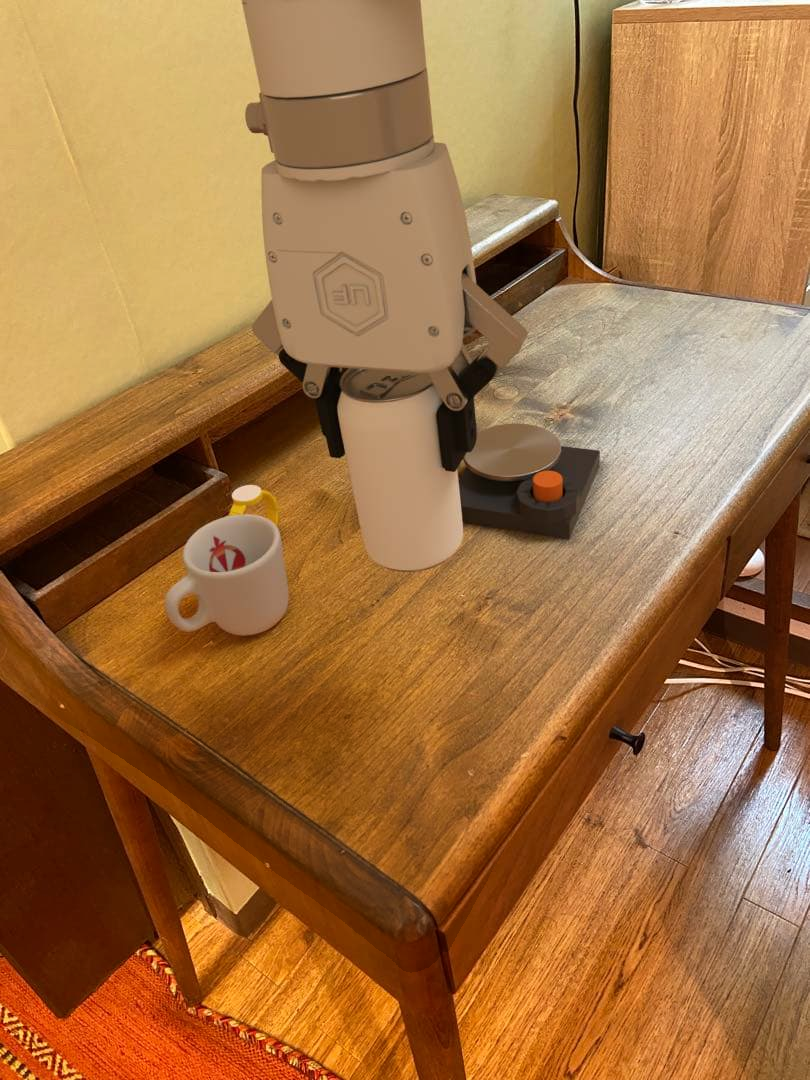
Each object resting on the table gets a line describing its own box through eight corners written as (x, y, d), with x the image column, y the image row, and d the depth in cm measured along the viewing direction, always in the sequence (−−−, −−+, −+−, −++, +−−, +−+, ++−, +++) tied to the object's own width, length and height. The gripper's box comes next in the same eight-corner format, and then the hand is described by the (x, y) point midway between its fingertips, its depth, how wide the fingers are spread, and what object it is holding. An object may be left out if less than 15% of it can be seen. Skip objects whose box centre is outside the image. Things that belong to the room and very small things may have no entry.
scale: (602, 466, 82) (603, 436, 80) (570, 544, 73) (570, 513, 71) (485, 452, 87) (483, 423, 84) (442, 524, 78) (438, 494, 76)
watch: (253, 566, 76) (237, 515, 73) (229, 559, 77) (213, 509, 74) (289, 528, 80) (276, 478, 76) (267, 523, 81) (252, 473, 78)
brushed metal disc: (571, 433, 81) (571, 428, 81) (546, 487, 74) (546, 482, 74) (481, 423, 84) (481, 418, 84) (449, 474, 78) (448, 469, 78)
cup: (209, 682, 65) (180, 609, 60) (163, 634, 70) (132, 563, 65) (317, 611, 70) (298, 538, 65) (266, 571, 75) (245, 501, 70)
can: (484, 531, 53) (469, 362, 46) (422, 588, 50) (396, 415, 42) (407, 502, 57) (382, 341, 49) (344, 554, 53) (307, 388, 46)
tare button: (565, 488, 75) (565, 472, 74) (558, 504, 73) (558, 488, 72) (537, 484, 76) (537, 468, 75) (529, 500, 74) (529, 484, 73)
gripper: (151, 153, 38) (245, 471, 49) (508, 139, 32) (525, 507, 43) (234, 113, 44) (302, 408, 55) (555, 95, 37) (559, 433, 48)
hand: (400, 450), depth 49 cm, fingers closed on can, 6 cm apart
